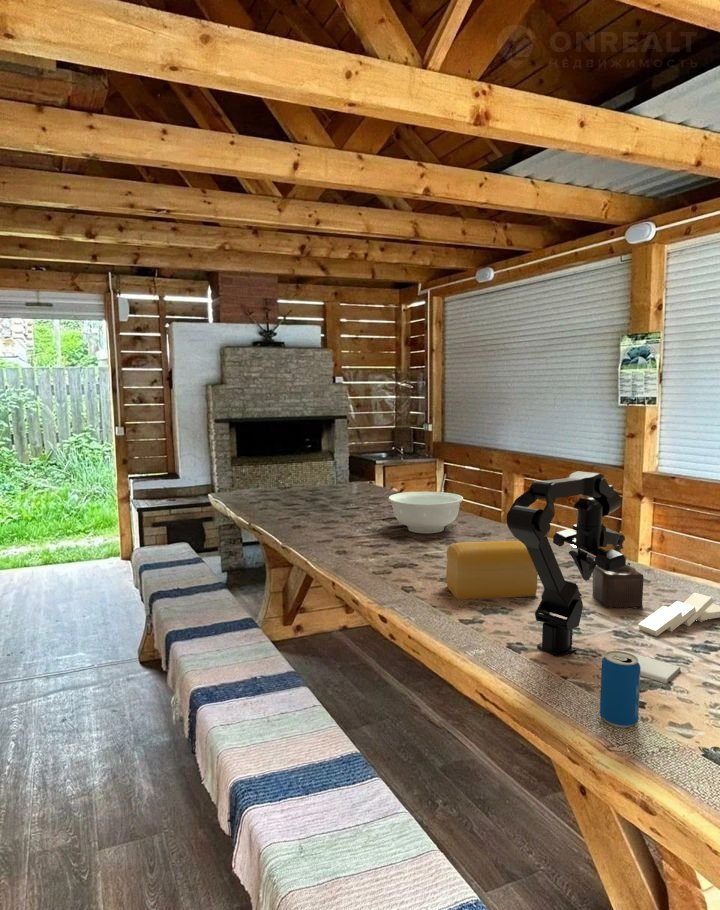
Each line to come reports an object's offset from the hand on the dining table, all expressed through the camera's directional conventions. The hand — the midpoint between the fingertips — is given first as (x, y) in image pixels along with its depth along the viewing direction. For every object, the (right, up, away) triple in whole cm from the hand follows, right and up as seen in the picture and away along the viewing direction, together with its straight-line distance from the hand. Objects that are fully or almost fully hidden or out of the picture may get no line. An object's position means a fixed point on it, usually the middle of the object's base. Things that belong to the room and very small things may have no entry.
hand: (586, 579), depth 154 cm
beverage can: (-9, -17, -42) cm, 46 cm away
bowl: (-28, -2, +114) cm, 118 cm away
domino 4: (+30, -10, +7) cm, 33 cm away
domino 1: (+15, -12, -1) cm, 19 cm away
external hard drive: (+5, -16, -20) cm, 26 cm away
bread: (-17, -10, +32) cm, 38 cm away
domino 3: (+26, -12, +5) cm, 29 cm away
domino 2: (+20, -12, +2) cm, 23 cm away
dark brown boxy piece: (+17, -11, +24) cm, 31 cm away
